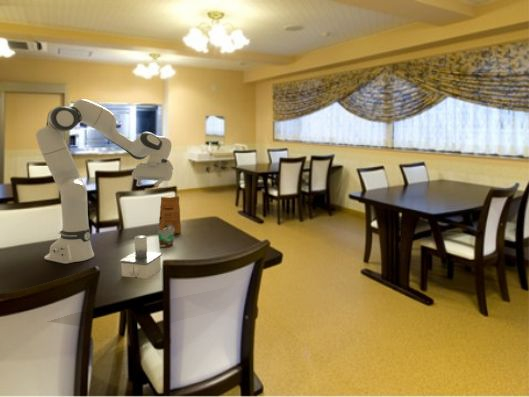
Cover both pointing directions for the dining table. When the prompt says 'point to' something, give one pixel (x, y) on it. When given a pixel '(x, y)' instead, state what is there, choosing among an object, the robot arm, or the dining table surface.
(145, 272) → the scale
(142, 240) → the steel weight
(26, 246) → the dining table surface
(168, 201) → the coffee package
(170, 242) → the food container
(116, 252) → the dining table surface
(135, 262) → the pan
